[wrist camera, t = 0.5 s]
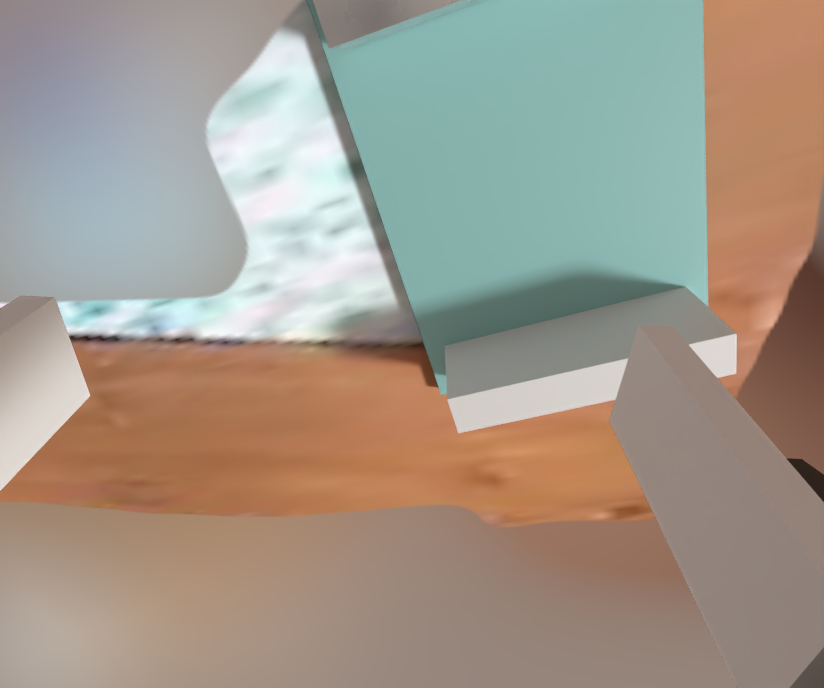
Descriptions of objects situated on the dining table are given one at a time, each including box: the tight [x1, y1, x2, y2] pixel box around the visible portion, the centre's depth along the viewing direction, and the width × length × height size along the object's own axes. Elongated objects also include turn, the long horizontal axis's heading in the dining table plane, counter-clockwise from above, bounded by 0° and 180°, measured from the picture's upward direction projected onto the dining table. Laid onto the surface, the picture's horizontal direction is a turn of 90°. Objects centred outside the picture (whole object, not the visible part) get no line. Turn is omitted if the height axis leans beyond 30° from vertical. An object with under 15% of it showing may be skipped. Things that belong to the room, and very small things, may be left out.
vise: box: [307, 0, 737, 433], centre depth 30 cm, size 30×21×8 cm
